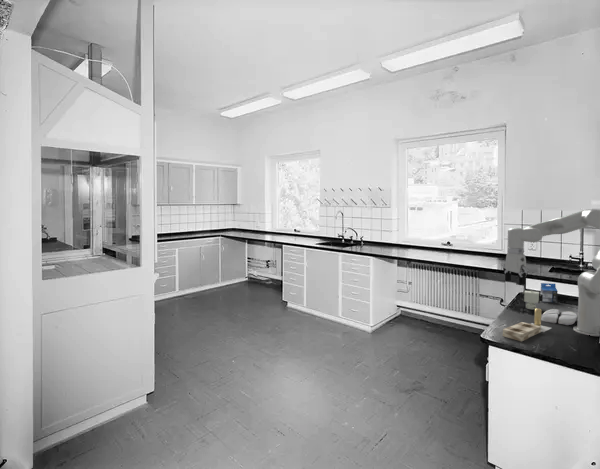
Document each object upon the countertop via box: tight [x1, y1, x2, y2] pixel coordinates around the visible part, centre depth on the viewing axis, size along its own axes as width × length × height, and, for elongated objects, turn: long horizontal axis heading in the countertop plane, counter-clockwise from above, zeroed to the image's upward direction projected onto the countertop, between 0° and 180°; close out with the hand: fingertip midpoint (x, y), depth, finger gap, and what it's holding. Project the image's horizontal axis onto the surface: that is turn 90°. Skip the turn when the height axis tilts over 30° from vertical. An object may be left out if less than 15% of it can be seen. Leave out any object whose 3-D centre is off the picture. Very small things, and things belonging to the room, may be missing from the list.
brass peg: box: [533, 307, 542, 326], centre depth 192 cm, size 3×3×10 cm
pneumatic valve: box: [519, 290, 543, 311], centre depth 227 cm, size 6×12×12 cm, turn 56°
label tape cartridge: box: [540, 282, 558, 304], centre depth 243 cm, size 9×4×12 cm, turn 73°
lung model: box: [541, 308, 578, 326], centre depth 207 cm, size 7×17×25 cm
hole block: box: [502, 321, 542, 342], centre depth 183 cm, size 9×20×4 cm, turn 123°
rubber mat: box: [530, 322, 552, 333], centre depth 192 cm, size 10×10×1 cm
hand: (514, 282), depth 193 cm, fingers open, 9 cm apart
